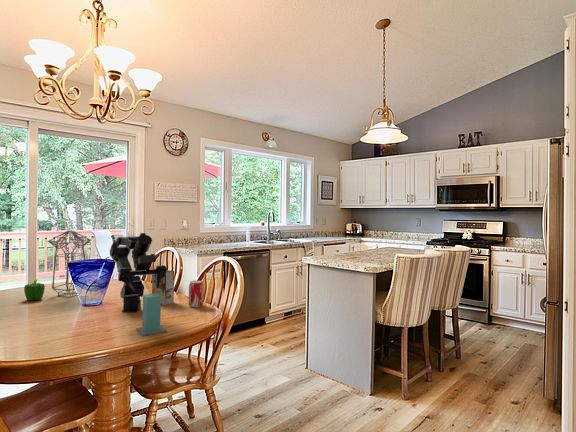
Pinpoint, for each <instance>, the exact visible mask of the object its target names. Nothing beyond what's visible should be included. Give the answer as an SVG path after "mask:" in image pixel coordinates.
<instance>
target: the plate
mask: <svg viewBox="0 0 576 432" xmlns="http://www.w3.org/2000/svg"><path fill="white" fill-rule="evenodd" d="M135 330H136V332H137V333H138V334H139V335H140V336H141V337H145V336H146V337H147V336H151V335H157V334H164V333H167V332H168V331H167V329H166V328H165V327H164V326H163V325H162V324H160V330H157V331H151V332H145V331H144V330H143V329H142V326H141V327H136V328H135Z"/></svg>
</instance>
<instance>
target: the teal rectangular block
mask: <svg viewBox="0 0 576 432" xmlns="http://www.w3.org/2000/svg"><path fill="white" fill-rule="evenodd" d="M161 305H162V304H161V296H160V295H159V294H157V293H154V294H152V293H147V294H143V296H142V326H141V327H142V329H143V330H144V331H145V332H151V331H157V330H160V325H161V315H162V314H161V311H162V310H161Z"/></svg>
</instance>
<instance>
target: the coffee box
mask: <svg viewBox="0 0 576 432" xmlns="http://www.w3.org/2000/svg"><path fill="white" fill-rule="evenodd" d="M151 276H152V277H151V280H152V281H151V294H154V293H157V294H159V295H160V296H161V305H164V306H165V305H169V304H172V303H173V304H174V303H175V271H174V270H168V269H167V272H166V274H165V277H163V278H162V279H160V283H159V288H158V289H157V287H156V283H155V275H154V274H152V275H151Z"/></svg>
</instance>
